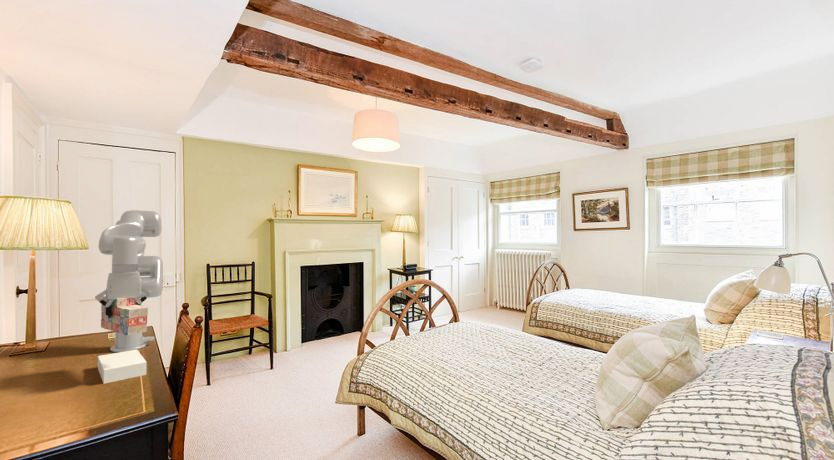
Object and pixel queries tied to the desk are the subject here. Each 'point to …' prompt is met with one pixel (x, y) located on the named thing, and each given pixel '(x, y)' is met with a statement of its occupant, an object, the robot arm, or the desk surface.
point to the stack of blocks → (125, 317)
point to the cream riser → (121, 366)
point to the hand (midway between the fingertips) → (123, 315)
